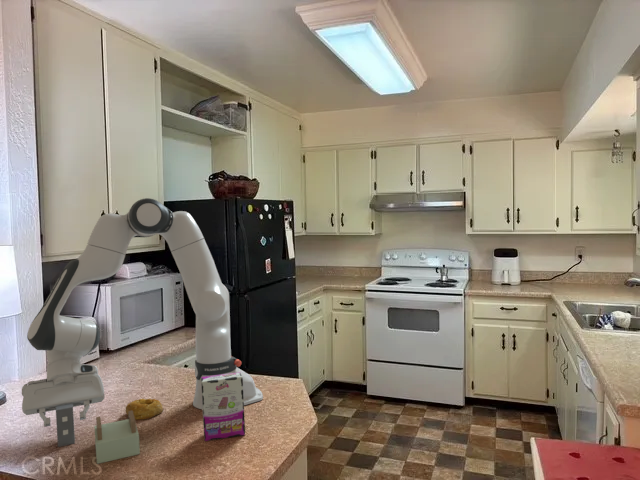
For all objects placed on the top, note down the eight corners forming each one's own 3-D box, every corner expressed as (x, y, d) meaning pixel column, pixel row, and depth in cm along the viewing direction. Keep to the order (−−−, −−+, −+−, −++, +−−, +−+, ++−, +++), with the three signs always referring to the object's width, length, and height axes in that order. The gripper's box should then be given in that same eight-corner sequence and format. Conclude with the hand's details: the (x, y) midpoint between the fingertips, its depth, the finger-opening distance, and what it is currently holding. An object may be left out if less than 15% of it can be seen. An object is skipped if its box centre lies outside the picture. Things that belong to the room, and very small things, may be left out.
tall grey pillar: (74, 438, 134) (72, 402, 133) (74, 443, 130) (72, 407, 130) (58, 441, 132) (56, 405, 131) (57, 447, 129) (55, 410, 128)
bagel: (161, 418, 146) (160, 403, 146) (123, 423, 143) (122, 407, 143) (164, 406, 155) (164, 392, 155) (128, 411, 153) (127, 396, 153)
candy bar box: (243, 428, 137) (241, 371, 137) (245, 435, 133) (243, 376, 132) (202, 434, 134) (200, 375, 133) (203, 441, 129) (201, 381, 129)
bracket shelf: (134, 435, 134) (133, 407, 134) (139, 454, 124) (138, 423, 123) (95, 444, 130) (93, 414, 129) (96, 463, 119) (95, 432, 119)
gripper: (20, 377, 132) (18, 425, 124) (102, 364, 141) (105, 409, 133) (23, 388, 136) (21, 435, 128) (102, 375, 145) (105, 419, 137)
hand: (65, 422), depth 130 cm, fingers open, 7 cm apart
